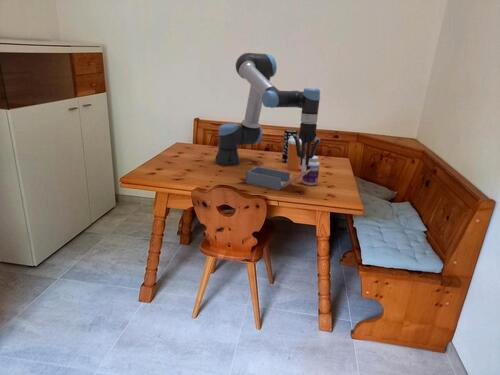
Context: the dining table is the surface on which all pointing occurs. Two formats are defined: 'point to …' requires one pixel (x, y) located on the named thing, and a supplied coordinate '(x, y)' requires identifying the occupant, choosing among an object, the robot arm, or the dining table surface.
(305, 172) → the tailgate
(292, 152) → the shaker bottle
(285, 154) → the spotted tube
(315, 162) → the pill bottle
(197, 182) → the dining table surface
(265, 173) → the grey open box
